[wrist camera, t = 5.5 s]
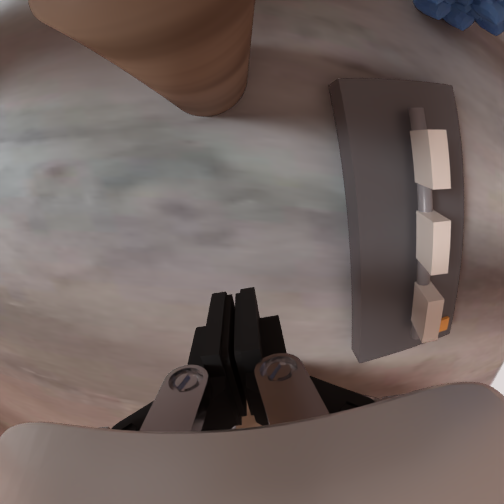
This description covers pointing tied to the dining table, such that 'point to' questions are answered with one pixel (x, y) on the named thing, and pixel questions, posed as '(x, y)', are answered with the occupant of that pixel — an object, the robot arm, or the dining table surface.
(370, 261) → the power strip
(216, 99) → the post inner
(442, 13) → the grapes
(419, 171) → the switch rocker
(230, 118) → the dining table surface
